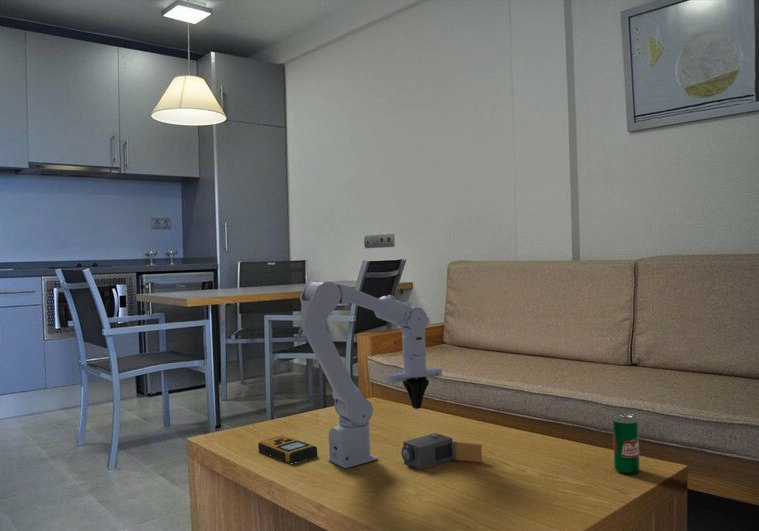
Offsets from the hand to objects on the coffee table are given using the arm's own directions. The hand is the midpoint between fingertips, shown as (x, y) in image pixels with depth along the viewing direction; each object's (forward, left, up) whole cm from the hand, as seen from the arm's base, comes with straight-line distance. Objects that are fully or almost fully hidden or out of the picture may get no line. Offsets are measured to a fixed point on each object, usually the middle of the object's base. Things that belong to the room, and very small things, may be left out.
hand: (416, 407), depth 156 cm
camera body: (-5, -10, -10) cm, 15 cm away
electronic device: (-27, +19, -11) cm, 35 cm away
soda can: (+22, -44, -10) cm, 50 cm away
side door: (+2, -16, -10) cm, 19 cm away
